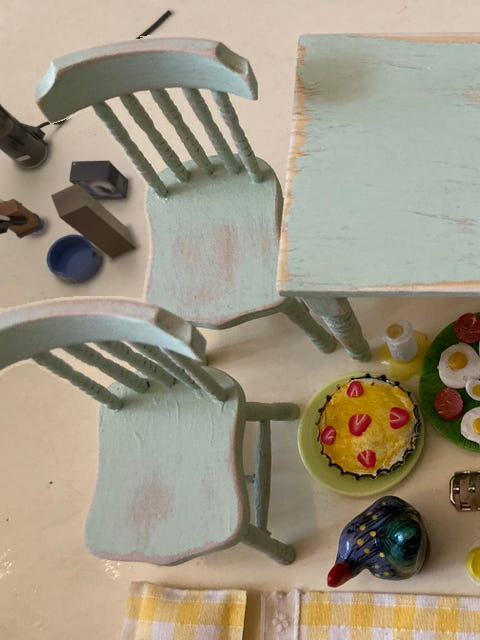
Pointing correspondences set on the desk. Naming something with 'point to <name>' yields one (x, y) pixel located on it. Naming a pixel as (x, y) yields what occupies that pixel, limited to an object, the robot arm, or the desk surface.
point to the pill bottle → (42, 225)
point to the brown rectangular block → (93, 220)
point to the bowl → (74, 258)
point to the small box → (99, 179)
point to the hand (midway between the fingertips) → (23, 213)
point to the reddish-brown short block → (19, 210)
